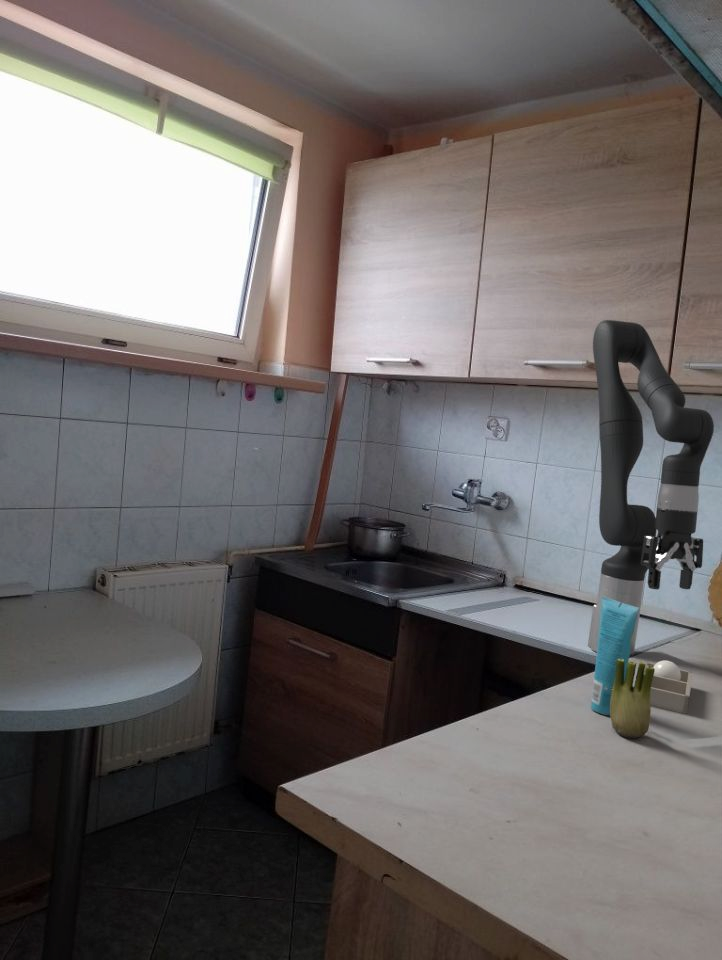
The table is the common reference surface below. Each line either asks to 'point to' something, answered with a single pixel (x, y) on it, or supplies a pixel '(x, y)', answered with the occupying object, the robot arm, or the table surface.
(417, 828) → the table surface
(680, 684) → the tray
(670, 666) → the ceramic egg
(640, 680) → the fennel bulb
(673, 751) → the table surface
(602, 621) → the tube
